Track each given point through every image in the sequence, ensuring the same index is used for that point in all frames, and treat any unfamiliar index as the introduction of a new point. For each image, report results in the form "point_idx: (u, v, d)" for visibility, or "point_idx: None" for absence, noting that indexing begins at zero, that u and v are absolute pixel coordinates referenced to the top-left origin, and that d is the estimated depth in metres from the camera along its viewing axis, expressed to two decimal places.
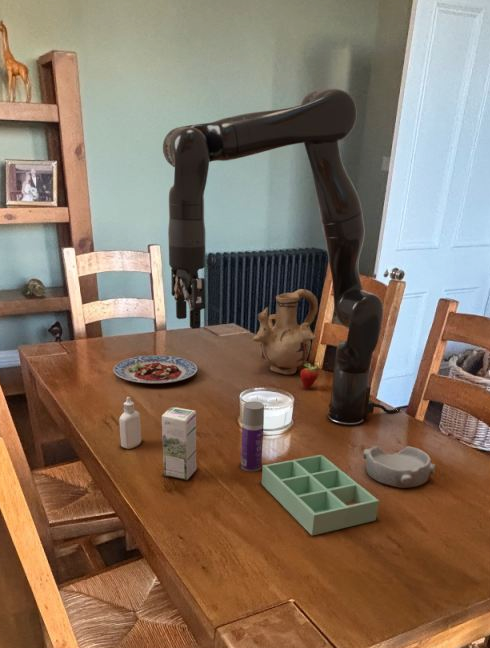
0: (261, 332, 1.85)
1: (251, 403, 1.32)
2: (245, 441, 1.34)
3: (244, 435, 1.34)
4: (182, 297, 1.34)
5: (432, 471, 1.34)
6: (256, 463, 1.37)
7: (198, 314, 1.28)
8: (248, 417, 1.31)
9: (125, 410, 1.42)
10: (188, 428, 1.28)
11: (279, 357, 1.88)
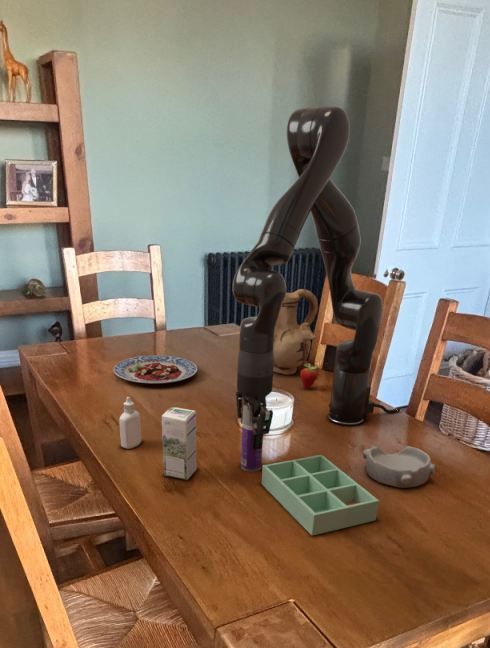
0: None
1: None
2: (245, 441, 1.34)
3: (244, 435, 1.34)
4: None
5: (432, 471, 1.34)
6: (256, 463, 1.37)
7: (261, 437, 1.32)
8: (248, 417, 1.31)
9: (125, 410, 1.42)
10: (188, 428, 1.28)
11: (279, 357, 1.88)
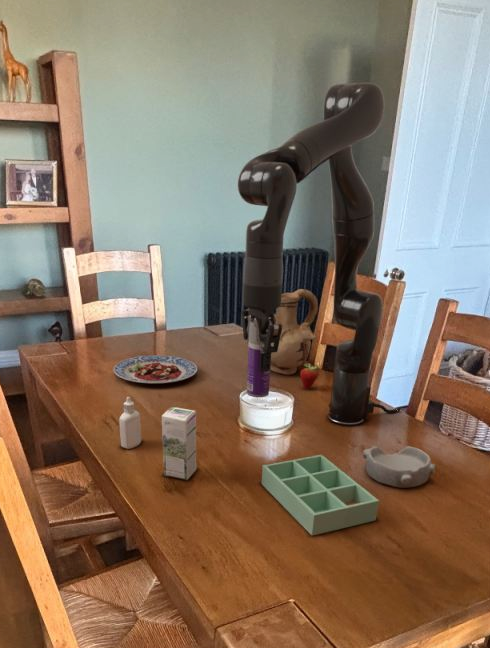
0: None
1: None
2: (251, 363, 1.24)
3: (250, 356, 1.24)
4: None
5: (432, 471, 1.34)
6: (263, 387, 1.27)
7: (269, 357, 1.22)
8: (254, 335, 1.21)
9: (125, 410, 1.42)
10: (188, 428, 1.28)
11: (279, 357, 1.88)
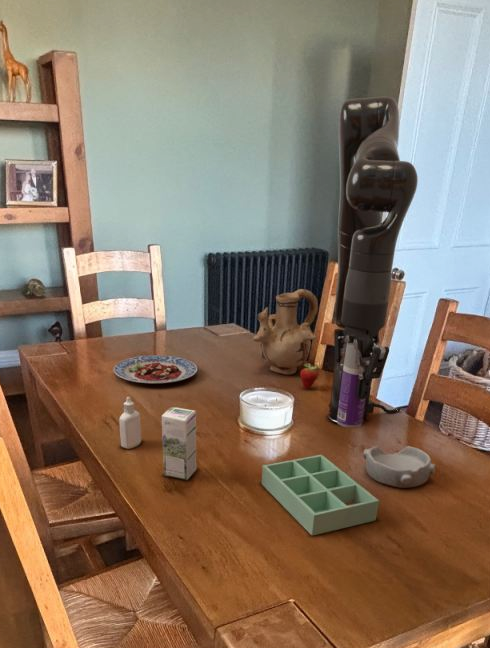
0: (261, 332, 1.85)
1: None
2: (346, 389, 1.09)
3: (346, 381, 1.09)
4: None
5: (432, 471, 1.34)
6: (358, 416, 1.12)
7: (368, 383, 1.07)
8: (353, 358, 1.06)
9: (125, 410, 1.42)
10: (188, 428, 1.28)
11: (279, 357, 1.88)
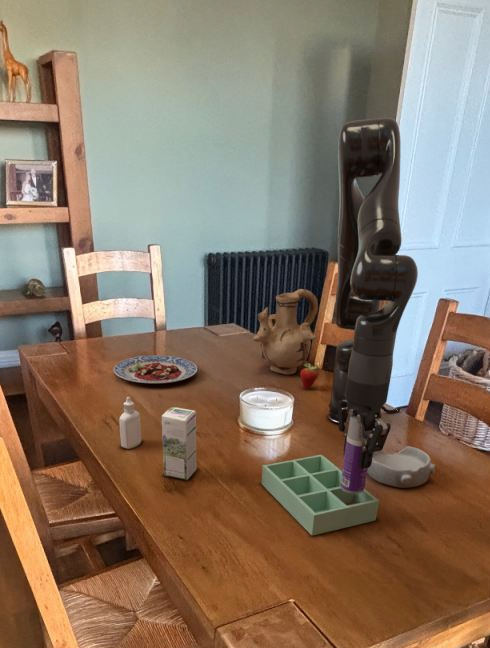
0: (261, 332, 1.85)
1: None
2: (350, 459, 1.15)
3: (349, 452, 1.14)
4: None
5: (432, 471, 1.34)
6: (361, 483, 1.17)
7: (371, 455, 1.13)
8: (356, 431, 1.12)
9: (125, 410, 1.42)
10: (188, 429, 1.28)
11: (279, 357, 1.88)
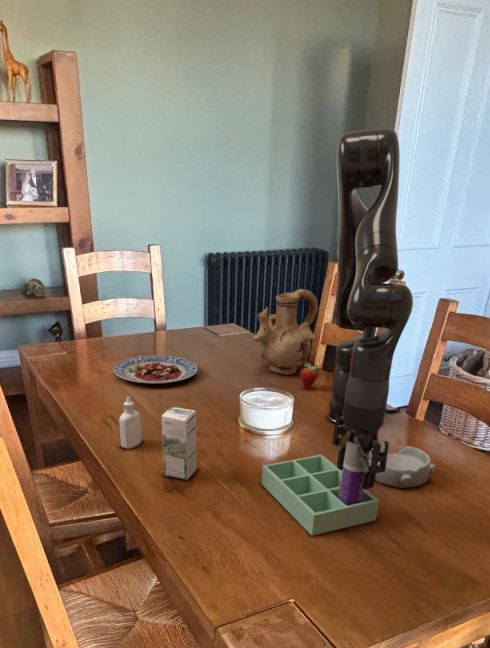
0: (261, 332, 1.85)
1: None
2: (346, 484, 1.18)
3: (346, 477, 1.17)
4: None
5: (432, 471, 1.34)
6: None
7: (374, 475, 1.13)
8: (352, 458, 1.14)
9: (125, 410, 1.42)
10: (188, 428, 1.28)
11: (279, 357, 1.88)
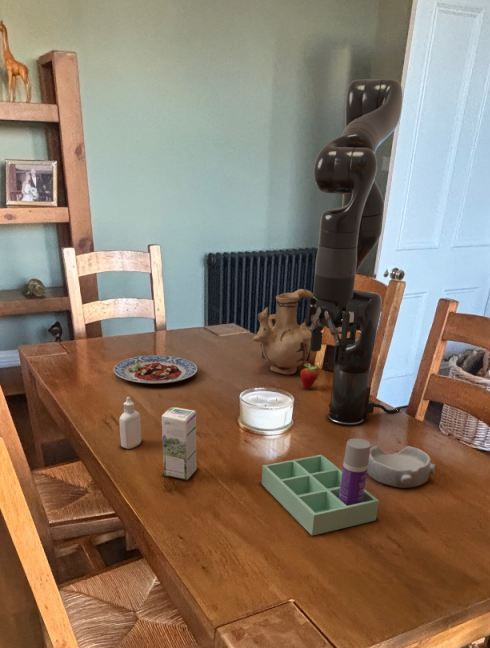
0: (261, 332, 1.85)
1: (355, 441, 1.16)
2: (346, 484, 1.18)
3: (346, 477, 1.17)
4: (318, 328, 1.23)
5: (432, 471, 1.34)
6: None
7: (344, 349, 1.17)
8: (352, 458, 1.14)
9: (125, 410, 1.42)
10: (188, 428, 1.28)
11: (279, 357, 1.88)
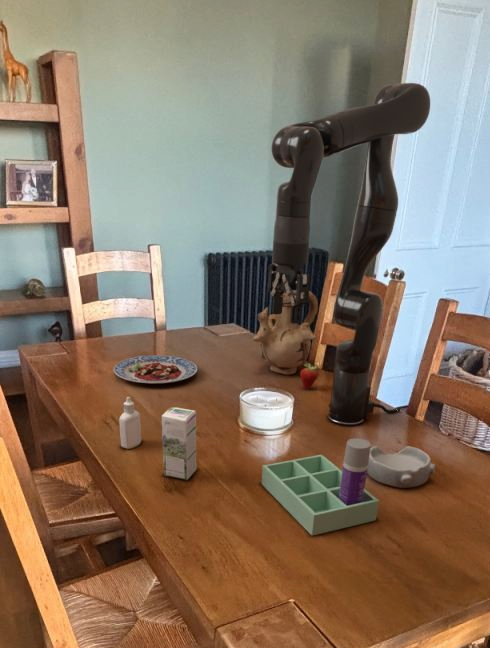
0: (261, 332, 1.85)
1: (355, 441, 1.16)
2: (346, 484, 1.18)
3: (346, 477, 1.17)
4: (279, 293, 1.37)
5: (432, 471, 1.34)
6: None
7: (300, 309, 1.30)
8: (352, 458, 1.14)
9: (125, 410, 1.42)
10: (188, 428, 1.28)
11: (279, 357, 1.88)
